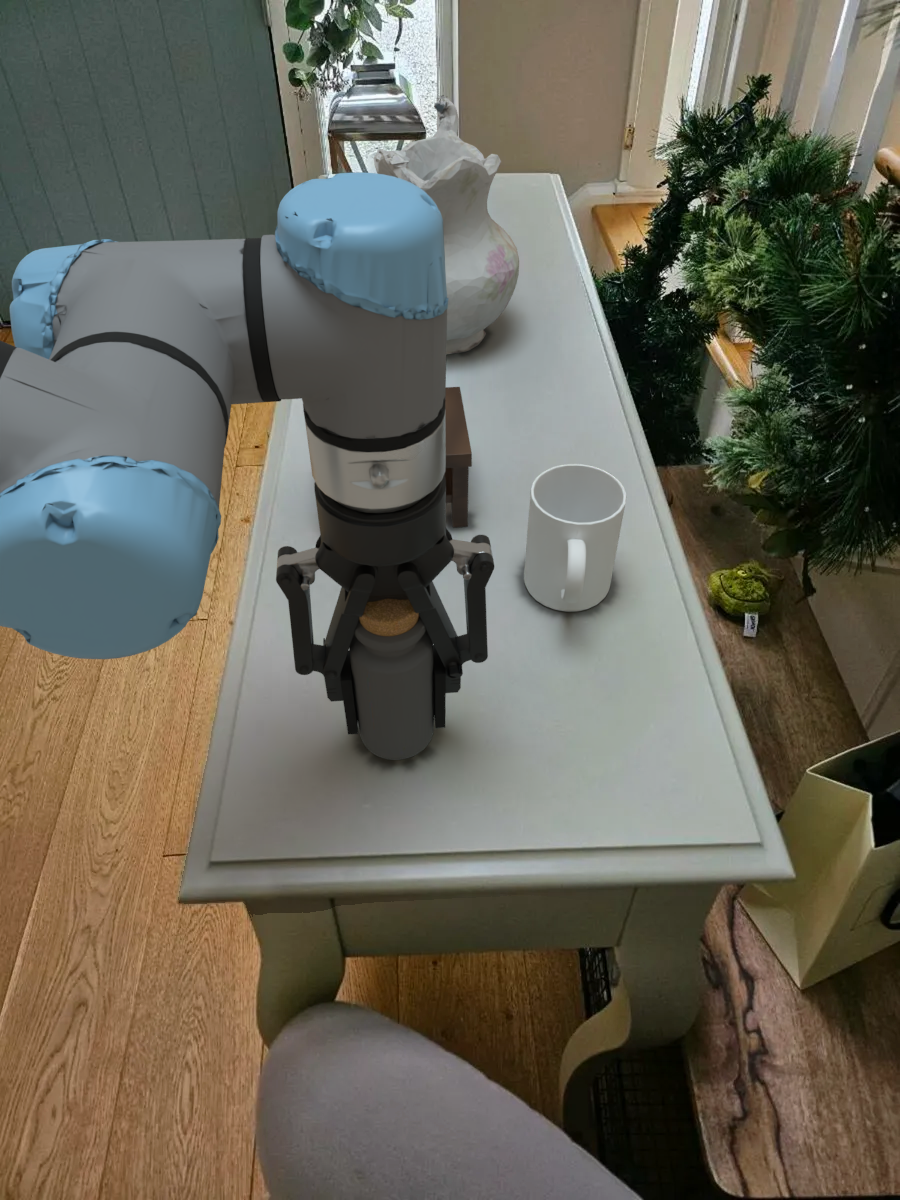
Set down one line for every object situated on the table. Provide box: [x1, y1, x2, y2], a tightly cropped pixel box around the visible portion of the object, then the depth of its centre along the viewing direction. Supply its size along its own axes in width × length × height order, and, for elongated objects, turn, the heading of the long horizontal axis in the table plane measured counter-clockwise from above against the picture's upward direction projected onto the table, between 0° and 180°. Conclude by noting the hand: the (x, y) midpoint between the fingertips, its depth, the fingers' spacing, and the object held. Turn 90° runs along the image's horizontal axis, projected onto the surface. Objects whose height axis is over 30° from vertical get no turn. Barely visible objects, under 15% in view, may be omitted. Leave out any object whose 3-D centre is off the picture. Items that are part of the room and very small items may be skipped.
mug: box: [523, 463, 627, 612], centre depth 73 cm, size 12×8×10 cm, turn 174°
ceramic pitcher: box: [373, 94, 520, 355], centre depth 101 cm, size 22×20×25 cm
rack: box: [444, 386, 473, 528], centre depth 84 cm, size 14×11×9 cm
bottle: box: [348, 599, 435, 761], centre depth 61 cm, size 6×6×15 cm
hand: (395, 716), depth 65 cm, fingers closed on bottle, 6 cm apart
